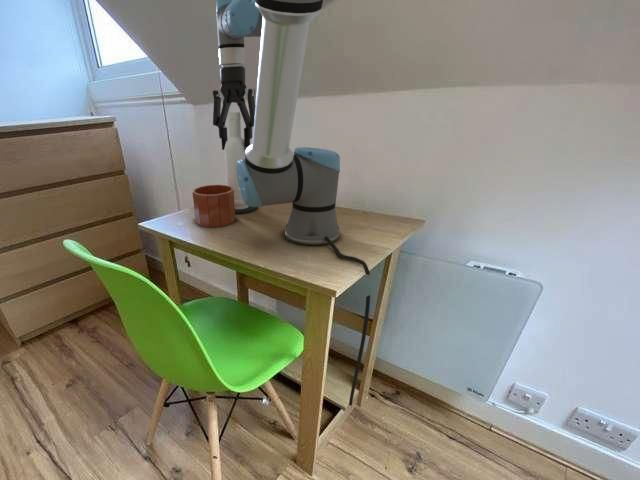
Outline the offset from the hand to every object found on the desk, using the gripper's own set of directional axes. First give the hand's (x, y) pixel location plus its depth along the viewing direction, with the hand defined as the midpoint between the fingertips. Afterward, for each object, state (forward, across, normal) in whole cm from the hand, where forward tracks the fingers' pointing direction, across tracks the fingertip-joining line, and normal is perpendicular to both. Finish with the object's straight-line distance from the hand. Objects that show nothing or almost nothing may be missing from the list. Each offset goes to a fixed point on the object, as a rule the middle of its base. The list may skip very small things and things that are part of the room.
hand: (236, 149), depth 113 cm
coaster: (+20, 0, 0) cm, 20 cm away
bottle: (+19, 0, 0) cm, 19 cm away
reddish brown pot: (+20, +1, +14) cm, 24 cm away
